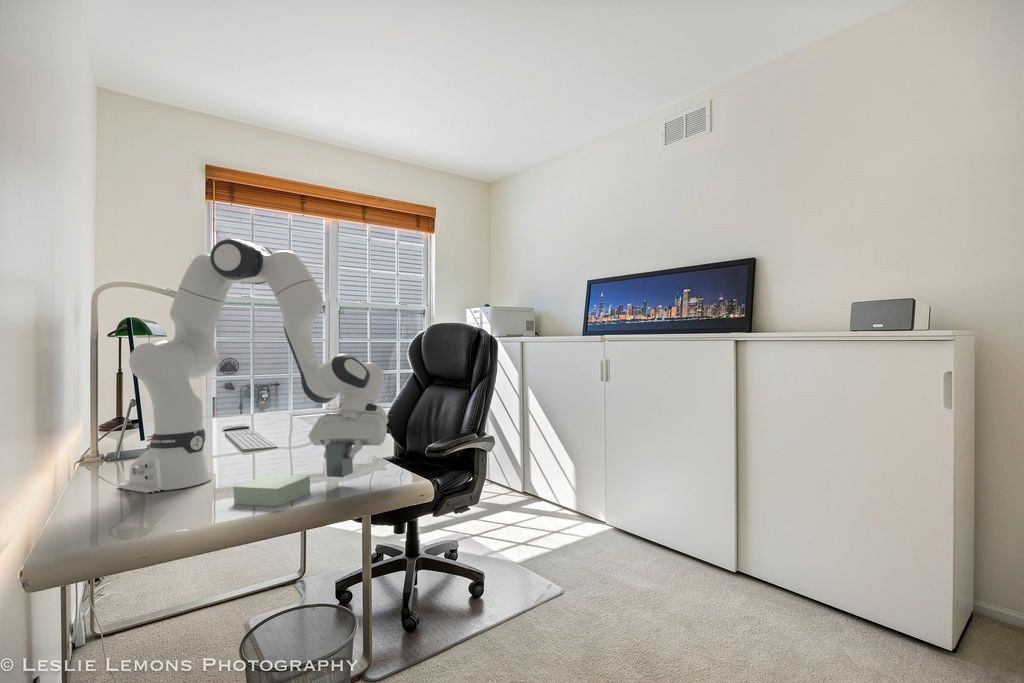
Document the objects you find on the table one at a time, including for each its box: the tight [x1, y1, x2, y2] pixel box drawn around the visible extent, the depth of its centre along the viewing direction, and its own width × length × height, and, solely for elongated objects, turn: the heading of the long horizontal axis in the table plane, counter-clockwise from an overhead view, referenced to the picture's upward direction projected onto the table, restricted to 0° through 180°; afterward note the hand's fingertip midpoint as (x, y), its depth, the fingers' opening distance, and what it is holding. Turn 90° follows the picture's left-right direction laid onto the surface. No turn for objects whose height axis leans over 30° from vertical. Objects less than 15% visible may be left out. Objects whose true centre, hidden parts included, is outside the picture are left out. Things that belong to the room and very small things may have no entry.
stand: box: [233, 474, 311, 508], centre depth 119 cm, size 12×11×4 cm
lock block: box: [325, 441, 354, 478], centre depth 128 cm, size 4×4×8 cm
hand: (338, 457), depth 127 cm, fingers closed on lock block, 5 cm apart
